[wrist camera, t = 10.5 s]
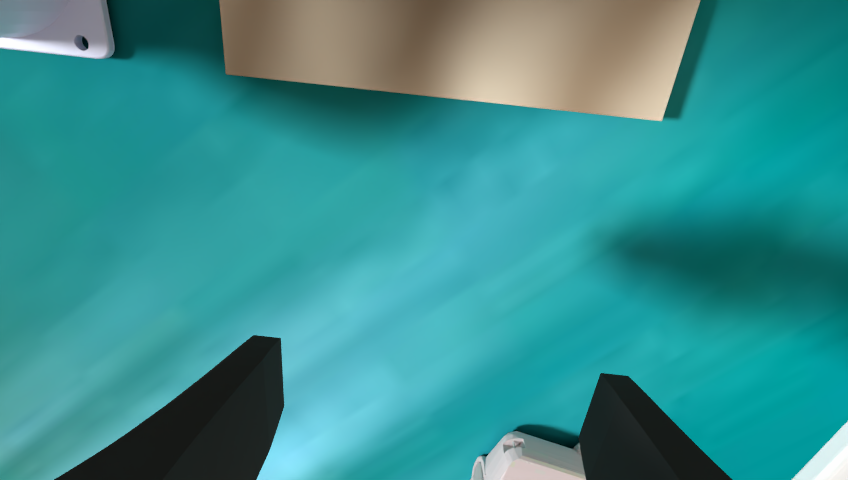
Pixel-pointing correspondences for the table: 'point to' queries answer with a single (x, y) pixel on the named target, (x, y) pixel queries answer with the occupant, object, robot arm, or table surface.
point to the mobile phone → (529, 460)
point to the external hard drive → (829, 460)
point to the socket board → (471, 49)
